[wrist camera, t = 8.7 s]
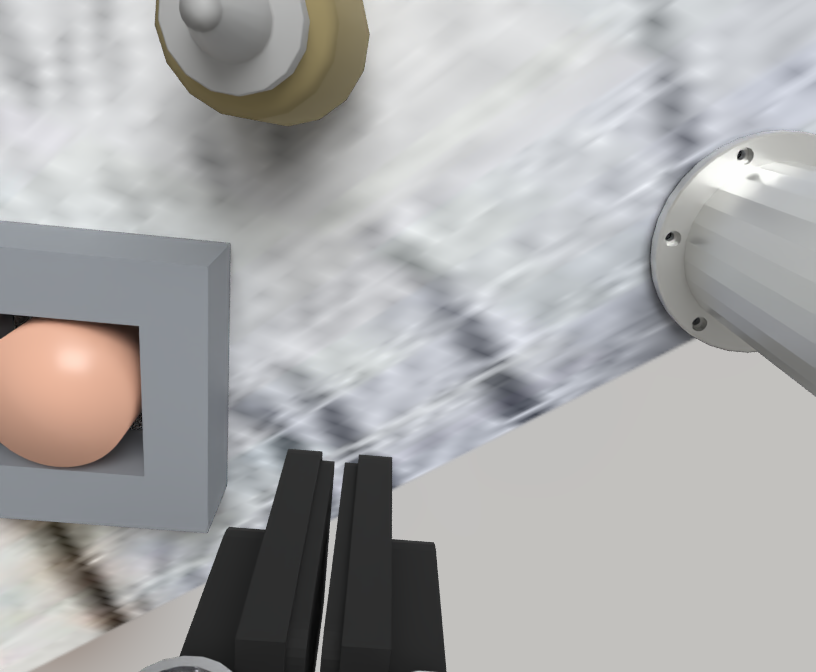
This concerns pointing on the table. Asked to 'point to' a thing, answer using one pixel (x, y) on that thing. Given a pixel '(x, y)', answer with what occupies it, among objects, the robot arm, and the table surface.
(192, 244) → the button base
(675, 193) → the robot arm
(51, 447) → the button
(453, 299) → the table surface
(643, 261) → the table surface
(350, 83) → the squeeze bottle
